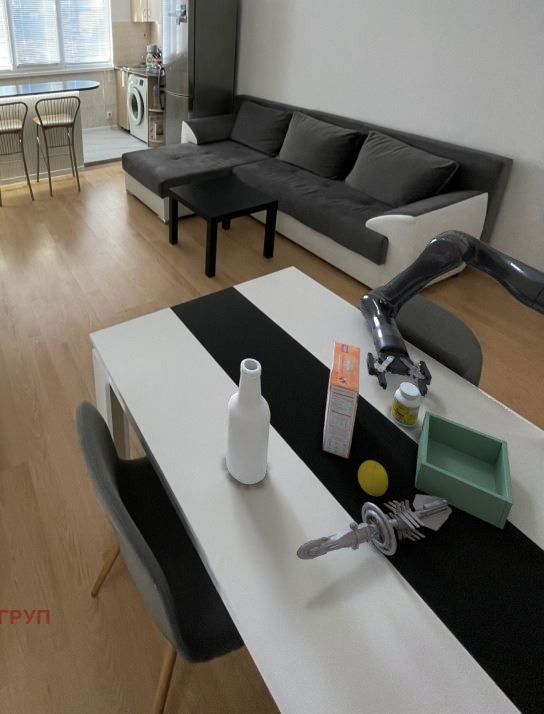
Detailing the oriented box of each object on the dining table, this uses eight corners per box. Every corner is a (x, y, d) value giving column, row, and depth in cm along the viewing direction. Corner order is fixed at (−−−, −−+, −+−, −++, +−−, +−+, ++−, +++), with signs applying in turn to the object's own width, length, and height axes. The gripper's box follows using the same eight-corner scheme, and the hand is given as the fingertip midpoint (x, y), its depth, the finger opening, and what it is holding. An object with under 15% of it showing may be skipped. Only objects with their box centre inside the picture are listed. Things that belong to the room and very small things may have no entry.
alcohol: (273, 465, 96) (282, 363, 85) (252, 495, 91) (258, 390, 80) (240, 440, 102) (244, 342, 91) (218, 467, 96) (219, 366, 85)
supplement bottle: (421, 425, 103) (428, 396, 100) (401, 429, 102) (408, 400, 99) (404, 406, 108) (411, 378, 105) (385, 410, 107) (391, 382, 104)
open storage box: (497, 466, 93) (506, 442, 91) (502, 529, 82) (513, 504, 80) (419, 433, 101) (425, 410, 98) (414, 487, 90) (421, 463, 87)
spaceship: (282, 516, 80) (309, 550, 72) (429, 472, 89) (466, 498, 81) (285, 559, 79) (313, 598, 72) (431, 510, 89) (470, 540, 81)
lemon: (352, 475, 93) (357, 450, 90) (380, 480, 92) (386, 454, 89) (359, 502, 88) (364, 476, 85) (388, 507, 87) (394, 481, 84)
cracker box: (325, 403, 110) (334, 339, 103) (351, 411, 108) (361, 346, 100) (320, 450, 99) (329, 383, 91) (348, 460, 96) (360, 392, 89)
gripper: (363, 330, 121) (374, 374, 106) (420, 338, 117) (440, 384, 102) (360, 350, 123) (370, 396, 109) (416, 359, 119) (434, 407, 105)
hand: (404, 390), depth 106 cm, fingers open, 8 cm apart
